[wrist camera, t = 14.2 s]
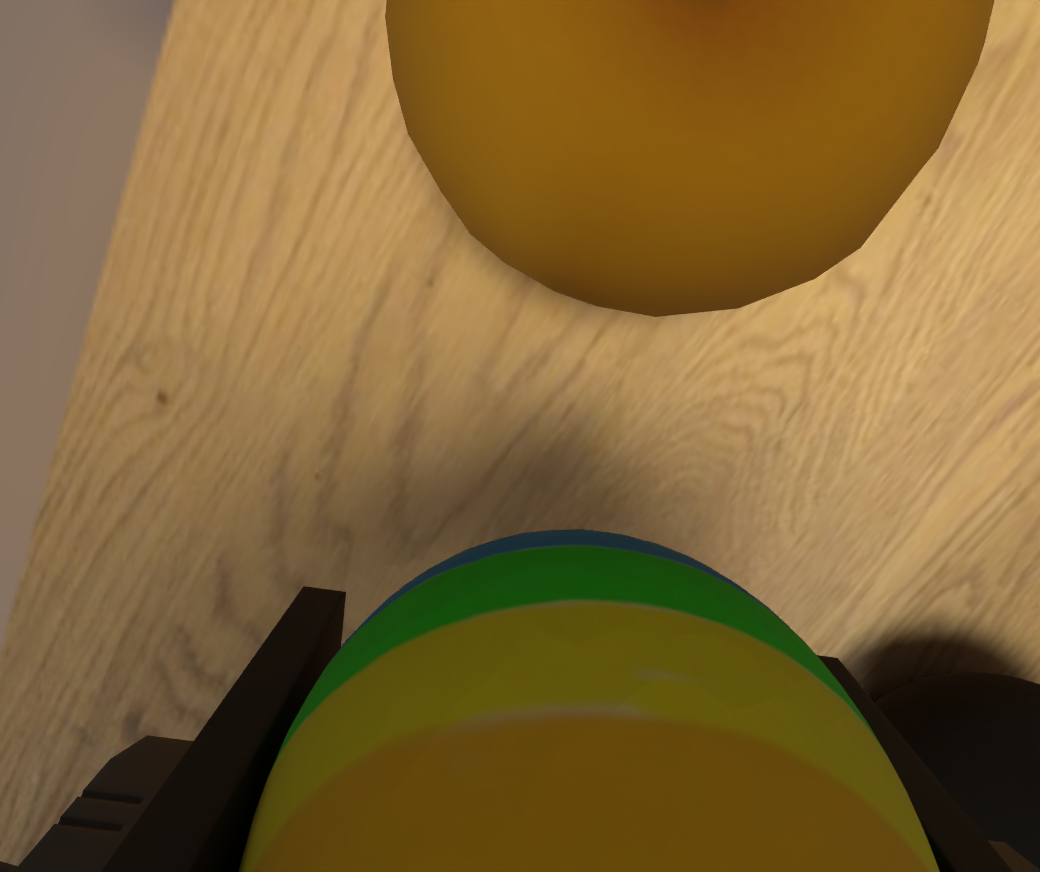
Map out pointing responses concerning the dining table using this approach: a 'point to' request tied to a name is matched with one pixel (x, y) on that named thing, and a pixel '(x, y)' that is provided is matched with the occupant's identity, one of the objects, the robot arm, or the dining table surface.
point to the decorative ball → (978, 748)
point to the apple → (678, 133)
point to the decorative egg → (580, 730)
